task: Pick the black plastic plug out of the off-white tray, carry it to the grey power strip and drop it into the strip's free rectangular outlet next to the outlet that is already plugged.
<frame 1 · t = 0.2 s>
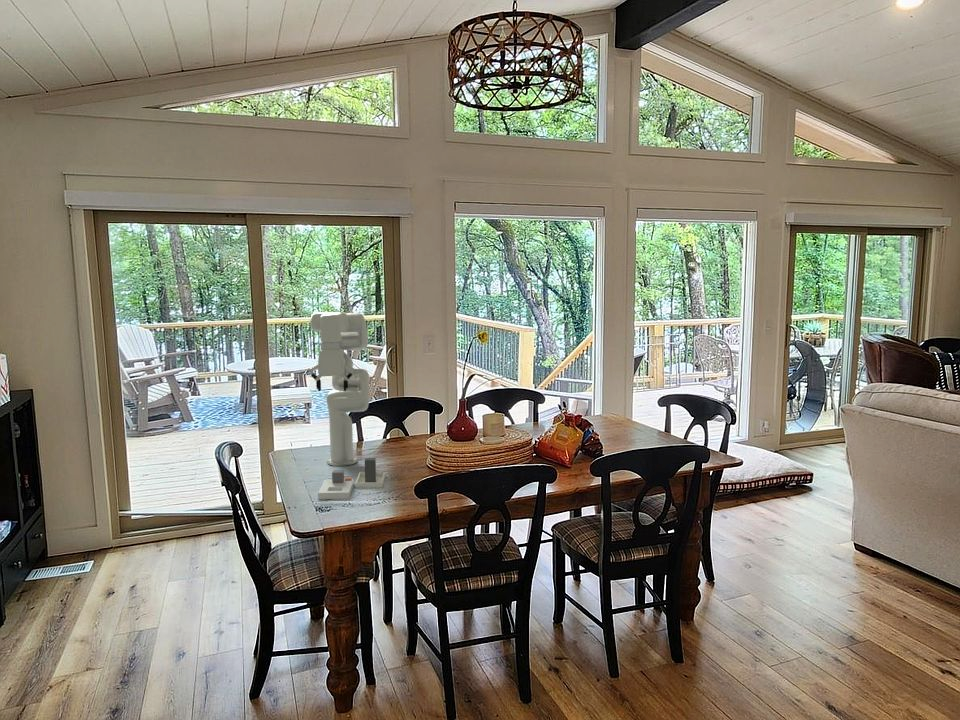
hand: (332, 390, 256), 36 cm above the table, tool pointing down, fingers open, 9 cm apart
plug: (370, 481, 257), point 1 cm above the table, touching tray
tray: (370, 483, 257), on the table
socket strip: (336, 493, 246), on the table
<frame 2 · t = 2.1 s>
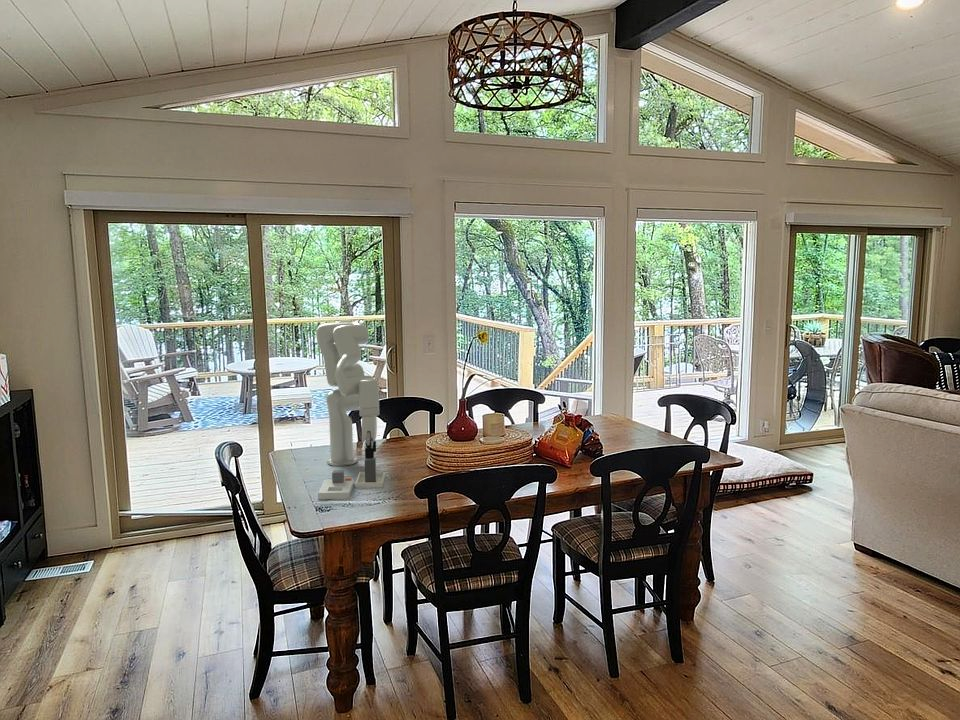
hand: (370, 454, 255), 12 cm above the table, tool pointing down, fingers open, 9 cm apart
nothing on the table moved.
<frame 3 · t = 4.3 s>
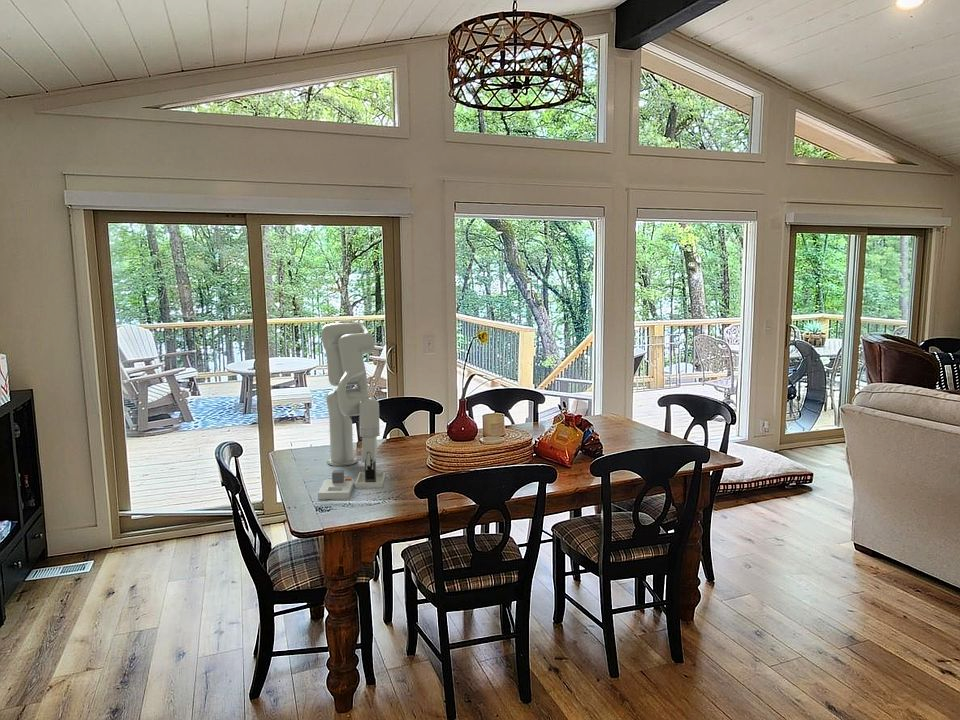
hand: (370, 477, 257), 3 cm above the table, tool pointing down, fingers closed on plug, 3 cm apart
plug: (370, 481, 257), point 1 cm above the table, touching gripper
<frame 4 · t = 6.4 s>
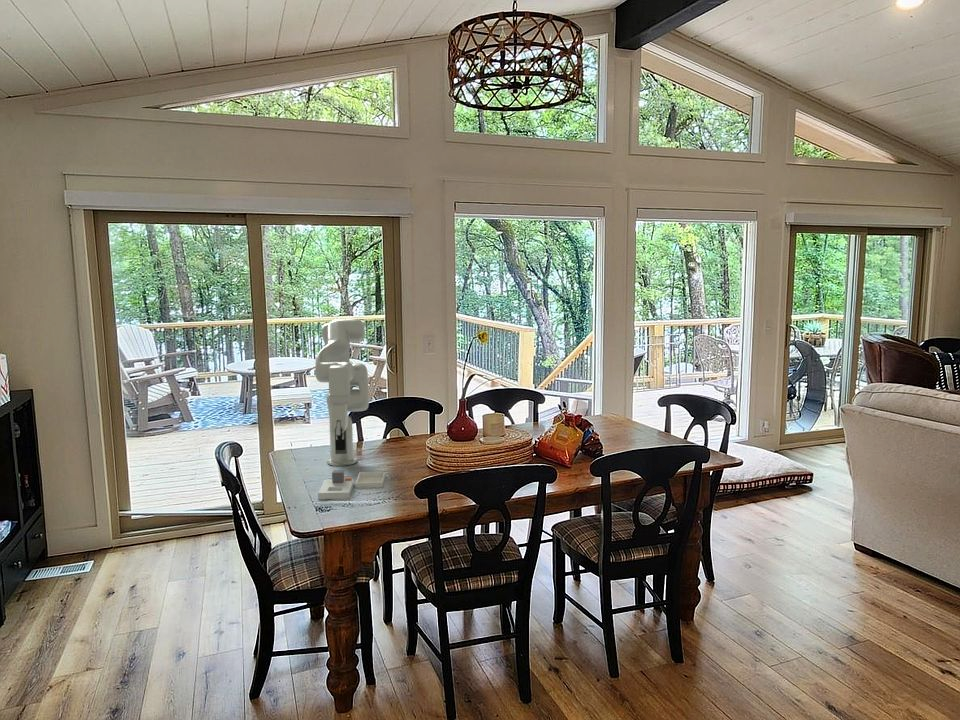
hand: (341, 448, 243), 18 cm above the table, tool pointing down, fingers closed on plug, 3 cm apart
plug: (341, 452, 243), point 16 cm above the table, touching gripper
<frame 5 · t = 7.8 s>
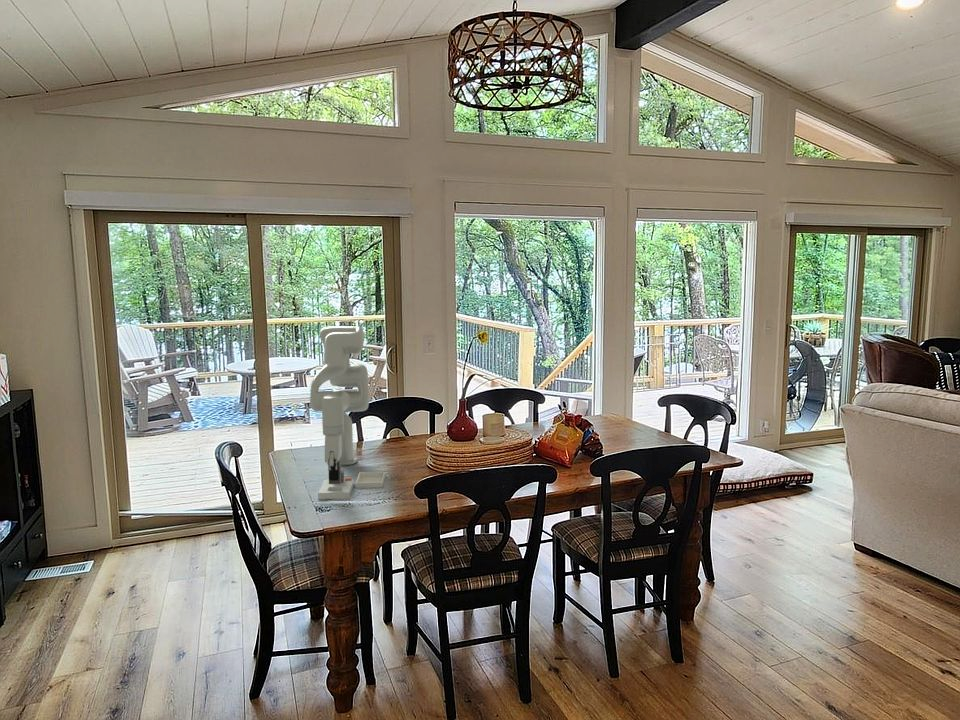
hand: (334, 478, 242), 7 cm above the table, tool pointing down, fingers closed on plug, 3 cm apart
plug: (335, 482, 242), point 5 cm above the table, touching gripper
when the fingers open (4 cm above the table, at t = 8.7 s): plug drops 2 cm, resting in socket strip.
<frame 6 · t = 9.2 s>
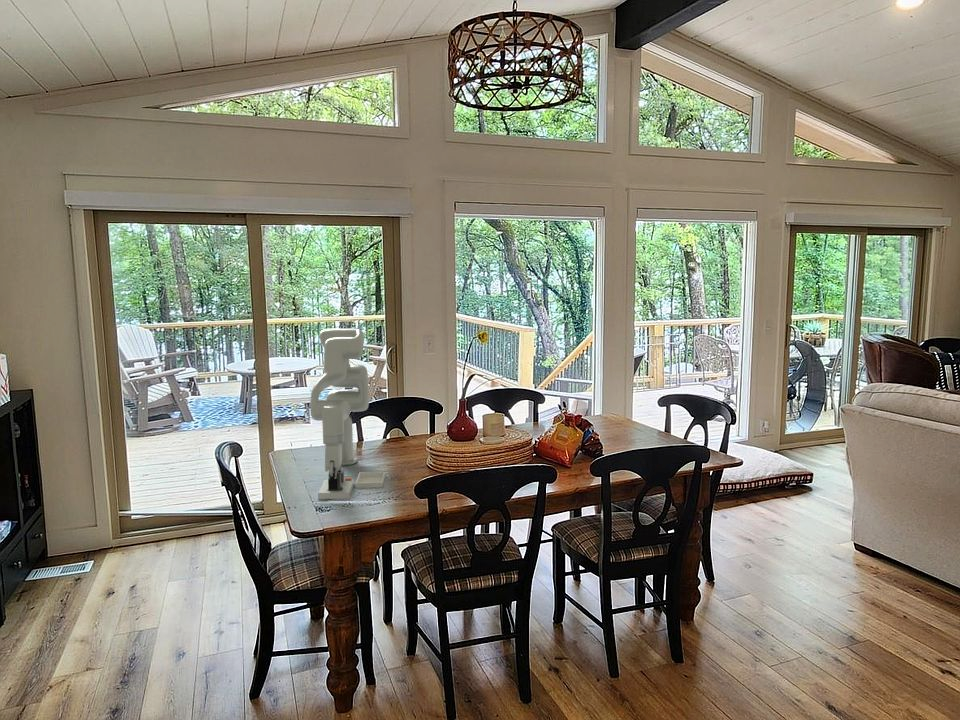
hand: (335, 484, 242), 5 cm above the table, tool pointing down, fingers open, 8 cm apart
plug: (335, 496, 243), resting in socket strip
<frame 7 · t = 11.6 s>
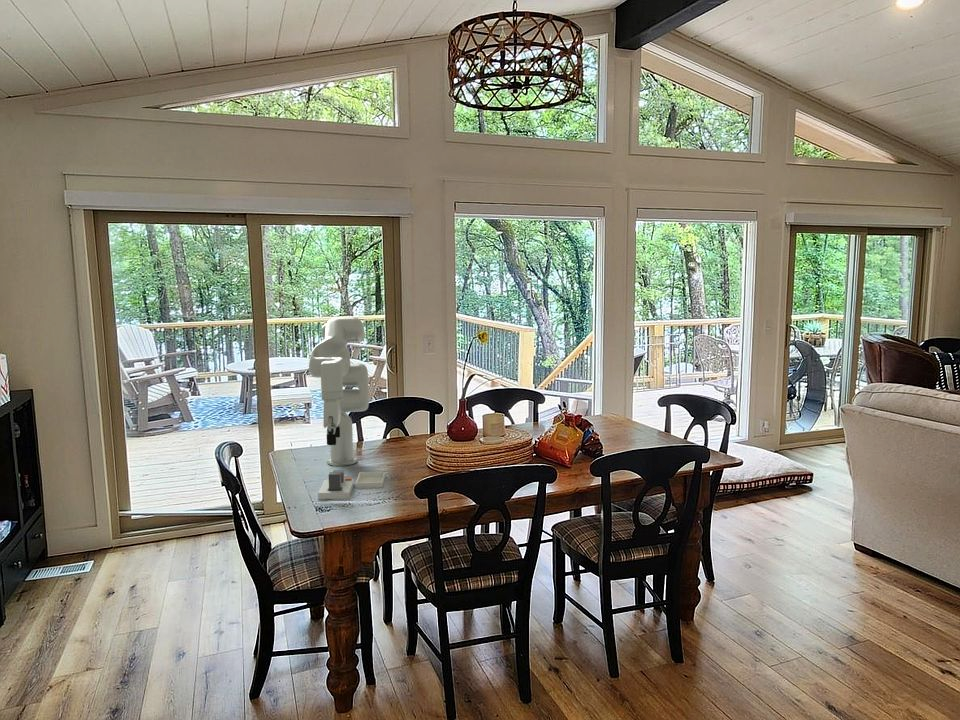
hand: (333, 440, 241), 21 cm above the table, tool pointing down, fingers open, 9 cm apart
nothing on the table moved.
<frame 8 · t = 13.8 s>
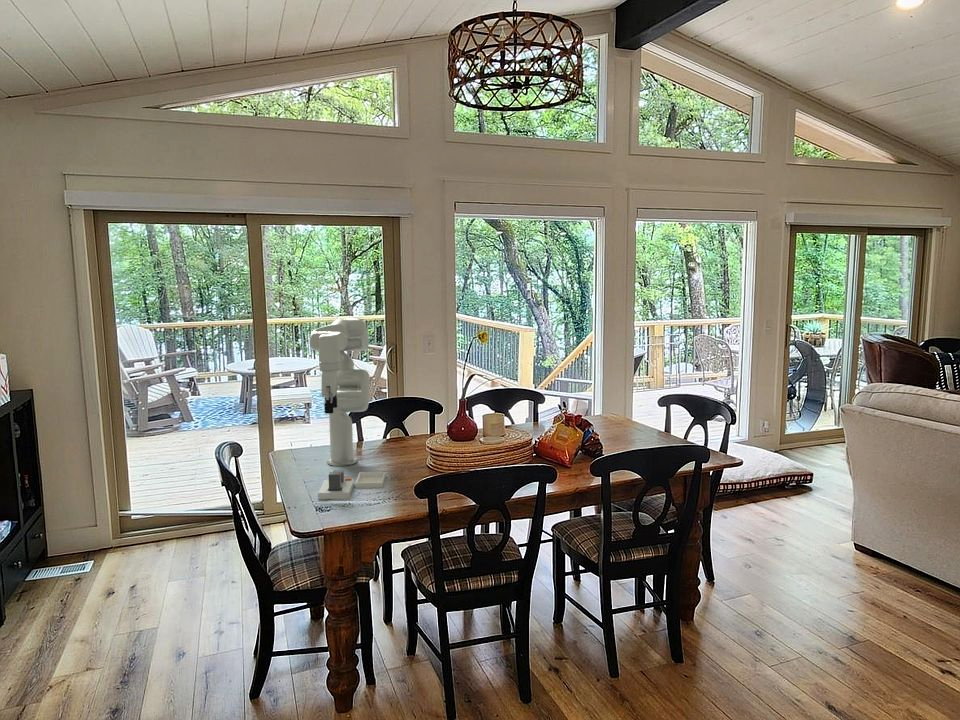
hand: (331, 410, 256), 28 cm above the table, tool pointing down, fingers open, 9 cm apart
nothing on the table moved.
at the end: plug 0.0 cm from the target spot on the socket strip, point 0.0 cm above the socket strip's base; plug tilted 0°; the gripper is holding nothing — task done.
